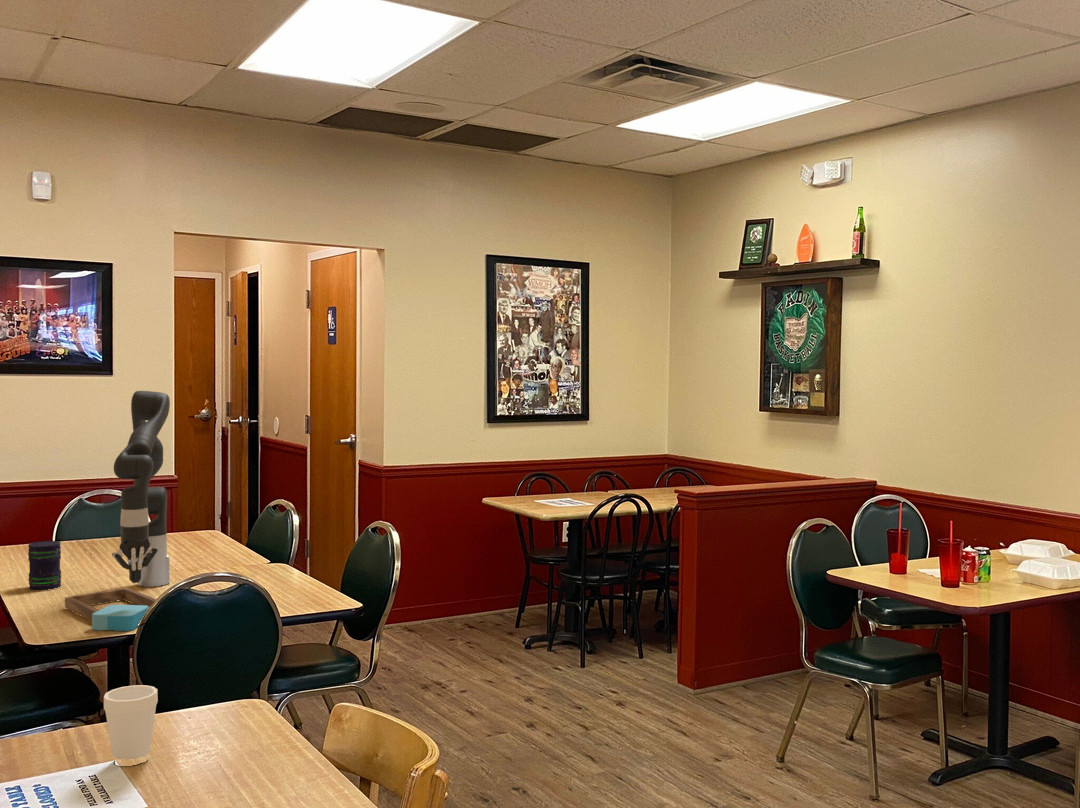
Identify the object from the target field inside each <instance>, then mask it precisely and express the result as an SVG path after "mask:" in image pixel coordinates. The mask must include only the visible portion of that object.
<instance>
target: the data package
mask: <svg viewBox="0 0 1080 808" xmlns="http://www.w3.org/2000/svg"><path fill="white" fill-rule="evenodd" d="M98 610H99V611H97V612H95V613H93V614H92V622H91V624H92V625H91V630H93V631H103V630H114V631H115V632H131V631H134V630H136V629H137V628H138V627H137V626H138V624H139V623H140V621H141V620H142V618H143V616H144V615H145V613H146V612H147V610H148V606H146V605H135V604H109V605H107V606H106V607H104V608H102V609H98Z"/></svg>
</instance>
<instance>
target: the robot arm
mask: <svg viewBox="0 0 1080 808" xmlns="http://www.w3.org/2000/svg"><path fill="white" fill-rule="evenodd" d="M170 403H171V402H170V396H169V395H168V394H167V393H165V392H160V391H159V392H158V391H152V390H151V391H150V390H137V391H135V392H133V394H132V397H131V402H130V411H131V413H130V414H131V422H132V433H131V434H130V436H129V439H128V442H127V445H126V447H124V449H123V450H122V451H121V452H120V453H119V455H118V456H116V459H115V460H114V464H113V472H114V475H115V476H116V477H117V478H118V479H120V480H133V485H132V486H128V487H125V488H123V489H122V490H121V493H120V496H121V497H120V499H121V501H120V502H121V504H120V507H121V510H120V521H119V523H120V545H119V549H118V550H117V551H115V552H112V553H111V557H113V558H114V559H115V561H116V562H117V563H118V564H119V565H120V566H121V567H122V568H123V569H125V570H128V572H129V574H128V575H129V576H128V577H129V578H128V579H129V582H131V583H132V584H137V586H138V585H139V587H141V586H144V587H143V588H153V587H154V586H156V587H161V585H162V586H165V585H169V584H170V582H171V581H170V580H171V579H170V556H169V555H168V544H167V543H168V542H167V541H168V538H167V536H168V535H167V533H168V532H167V529H168V528H167V514H168V513H167V512H168V511H167V510H168V509H167V508H168V492H167V489H166V488H165V487H164V486H152V487H151V486H150V487H149V485H150V483H151V480H152V479H153V478H154V476H156V474H157V473H158V472H159V471H160V469H161V468H162V466H163V464H164V446H163V443H162V442H161V440H160V439H159V437H158V435H159V434H160V432H161V430H162V428H163V426H164V424H165V423H166V420H167V418H168V417H169V413H170V407H171V406H170ZM149 515H150V516H151V515H156V516H155V518H153V519H152V520H151V521H149V520H150V519H149ZM123 556H125V558H126V560H127V561H126V560H125V559H124V558H123ZM168 583H169V584H168ZM154 588H155V587H154Z"/></svg>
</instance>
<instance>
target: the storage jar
mask: <svg viewBox="0 0 1080 808" xmlns="http://www.w3.org/2000/svg"><path fill="white" fill-rule="evenodd" d="M61 549H62V547H61V541H57V540H43V541H34V542H30V543H28V552H27V557H28V558H27V559H28V562H29V571H28V585H29V587H28V589H30V590H29V591H32V590H47V591H49V590H48V589H54V588H58V587H60V586H61V587H62V583H61V582H62V570H61V557H62V556H61V555H62V550H61ZM61 587H60V588H61ZM58 589H59V588H58ZM54 590H55V589H54Z"/></svg>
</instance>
